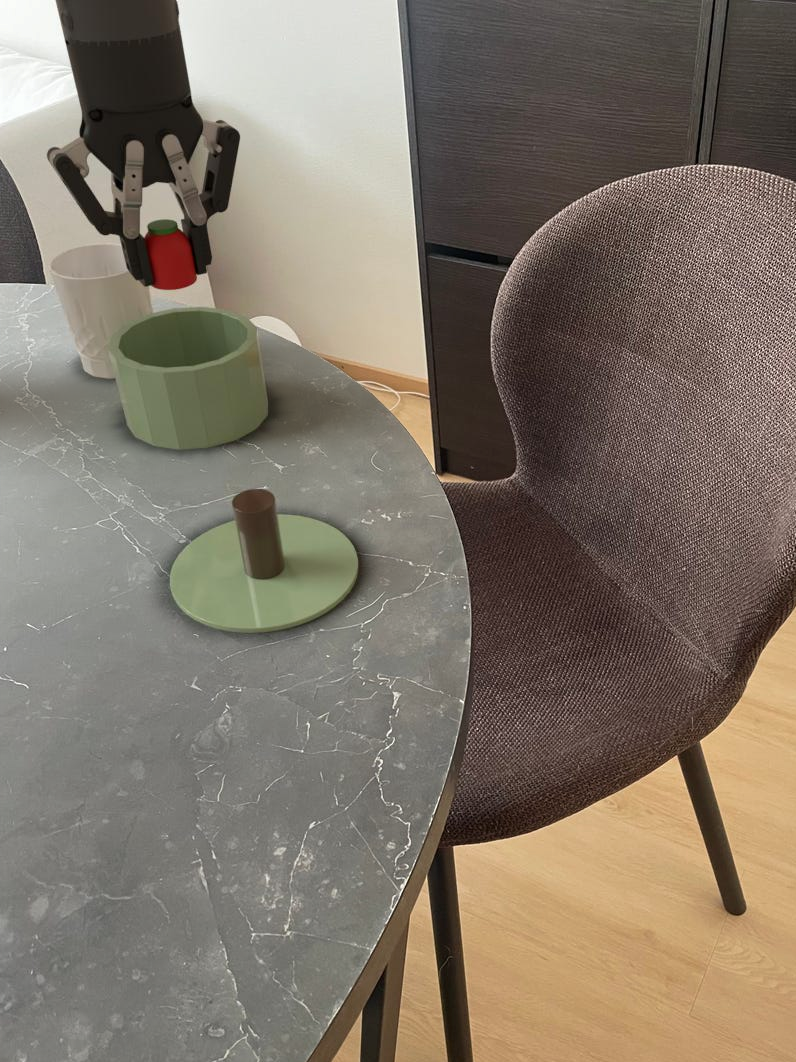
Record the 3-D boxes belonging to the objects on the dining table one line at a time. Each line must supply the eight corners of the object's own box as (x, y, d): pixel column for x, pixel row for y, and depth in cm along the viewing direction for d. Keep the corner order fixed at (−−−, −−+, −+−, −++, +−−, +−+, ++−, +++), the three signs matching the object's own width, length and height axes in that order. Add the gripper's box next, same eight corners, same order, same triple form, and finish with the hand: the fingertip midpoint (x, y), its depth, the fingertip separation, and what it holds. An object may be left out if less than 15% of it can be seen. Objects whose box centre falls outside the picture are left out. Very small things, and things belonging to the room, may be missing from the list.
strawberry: (141, 287, 80) (128, 231, 77) (162, 269, 82) (151, 214, 79) (184, 292, 79) (173, 235, 76) (204, 273, 82) (194, 218, 79)
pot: (104, 446, 85) (81, 361, 80) (168, 380, 94) (151, 300, 89) (235, 464, 83) (220, 379, 78) (289, 396, 92) (278, 315, 87)
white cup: (184, 366, 96) (162, 259, 89) (110, 397, 91) (81, 287, 85) (134, 340, 100) (110, 235, 93) (61, 369, 95) (30, 261, 89)
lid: (139, 623, 69) (116, 542, 64) (220, 515, 78) (205, 438, 74) (321, 655, 67) (310, 573, 62) (383, 540, 76) (377, 462, 71)
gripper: (203, 1, 74) (241, 243, 85) (-3, 24, 69) (67, 279, 80) (242, 21, 69) (276, 274, 81) (24, 47, 64) (94, 315, 75)
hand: (172, 275), depth 80 cm, fingers closed on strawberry, 3 cm apart
